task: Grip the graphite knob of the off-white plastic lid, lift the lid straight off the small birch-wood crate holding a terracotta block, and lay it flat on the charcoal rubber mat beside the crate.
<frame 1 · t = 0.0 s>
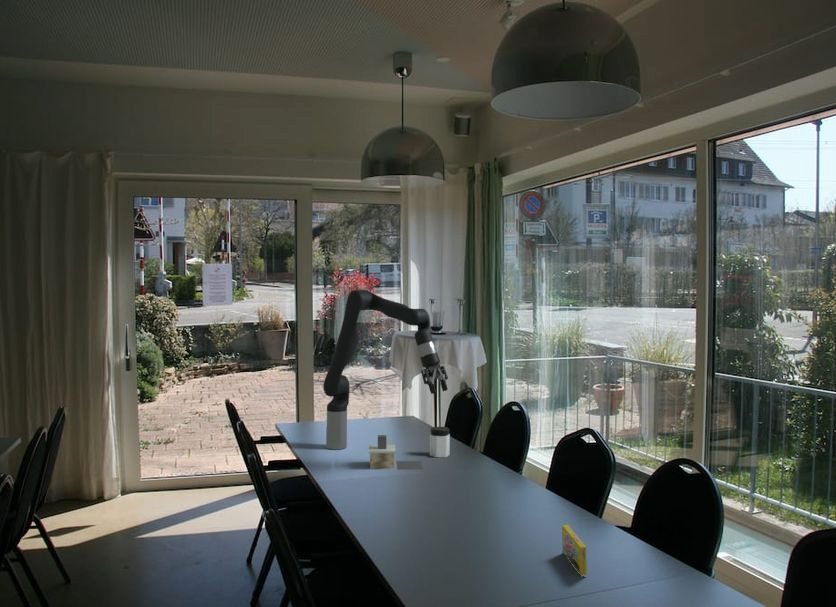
hand: (439, 392, 286), 31 cm above the table, tool tilted 20°, fingers open, 8 cm apart
jar: (439, 455, 308), on the table
lid: (381, 452, 287), point 6 cm above the table, touching crate
crate: (381, 466, 288), on the table
mat: (409, 466, 289), on the table
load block: (381, 465, 288), point 1 cm above the table, touching crate
candy box: (573, 565, 190), on the table
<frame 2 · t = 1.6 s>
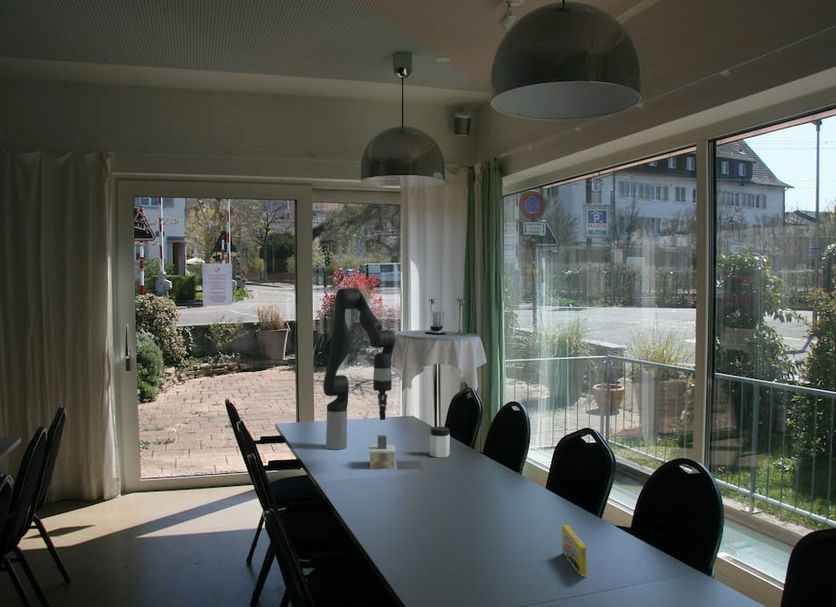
hand: (382, 417, 287), 20 cm above the table, tool pointing down, fingers open, 8 cm apart
nothing on the table moved.
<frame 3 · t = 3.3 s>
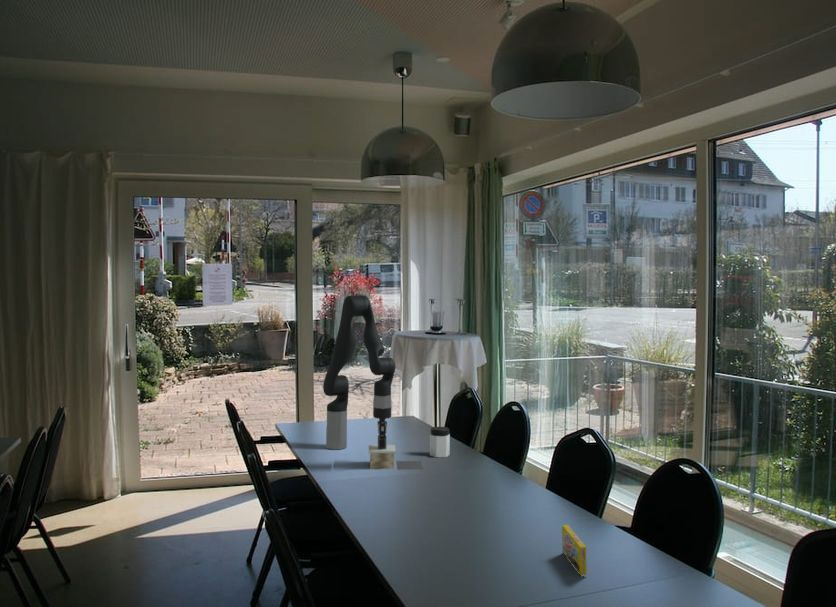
hand: (382, 447, 287), 8 cm above the table, tool pointing down, fingers closed on lid, 3 cm apart
lid: (381, 452, 287), point 6 cm above the table, touching crate, gripper
everything else where it was.
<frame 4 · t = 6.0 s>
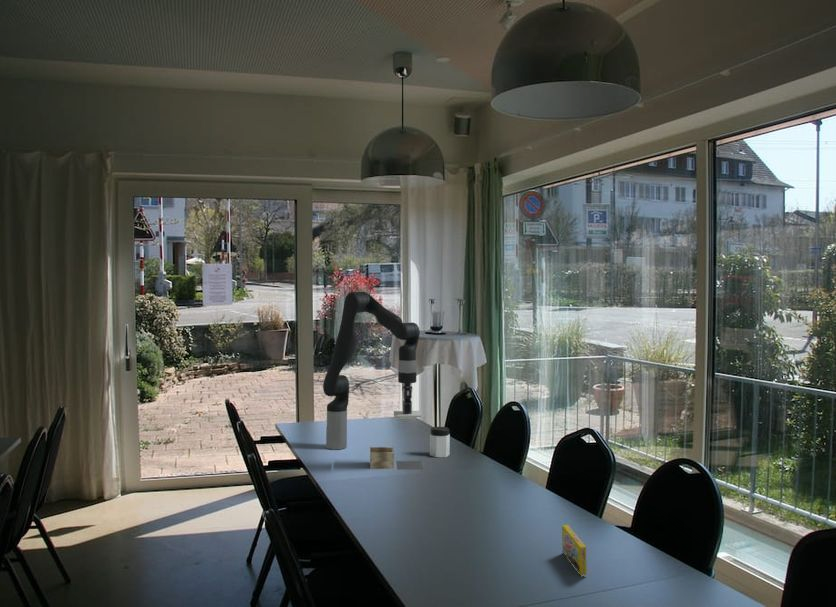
hand: (407, 412, 287), 23 cm above the table, tool pointing down, fingers closed on lid, 3 cm apart
lid: (407, 417, 287), point 21 cm above the table, touching gripper
everything else where it was.
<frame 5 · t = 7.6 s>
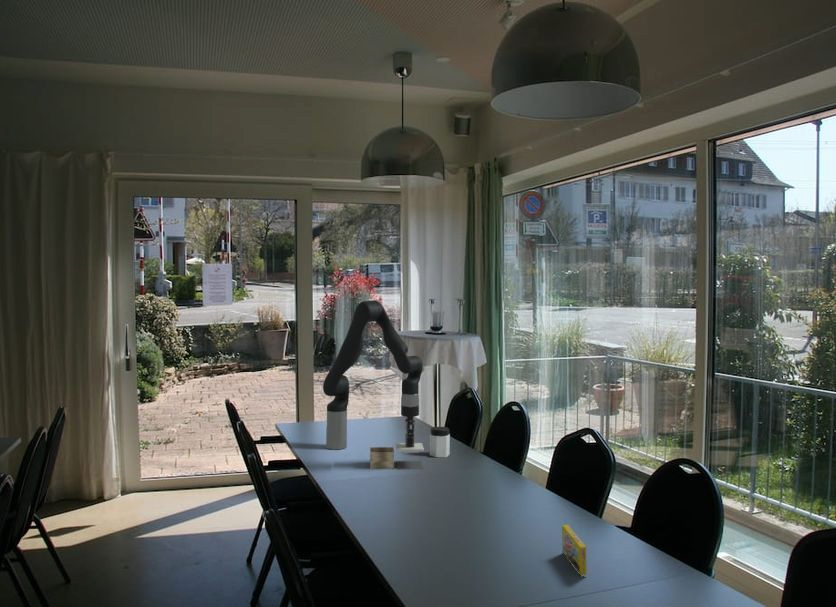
hand: (409, 445, 288), 9 cm above the table, tool pointing down, fingers closed on lid, 3 cm apart
lid: (409, 450, 288), point 7 cm above the table, touching gripper
everything else where it was.
when the fingers open (4 cm above the table, at t = 8.8 s): lid drops 2 cm, resting on mat.
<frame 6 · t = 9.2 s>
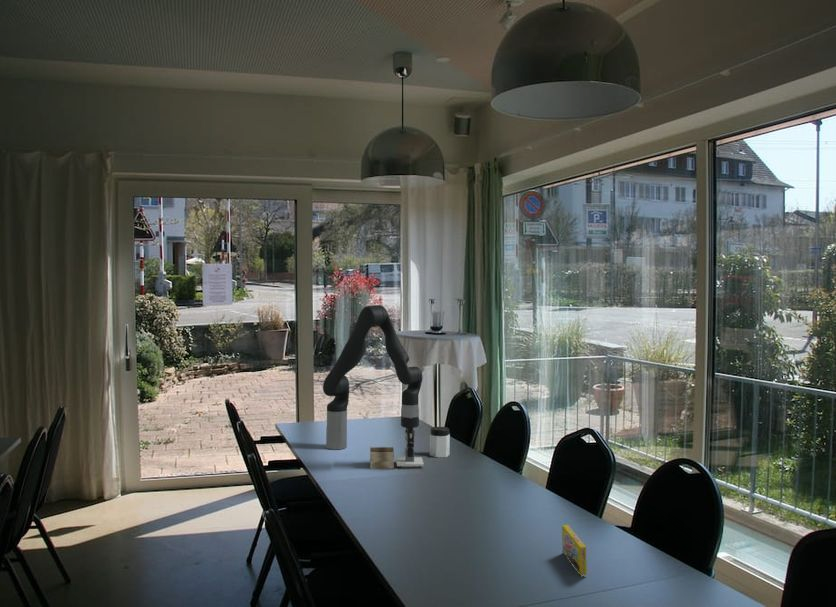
hand: (409, 454, 288), 5 cm above the table, tool pointing down, fingers open, 7 cm apart
lid: (409, 465, 289), point 1 cm above the table, touching mat
everything else where it was.
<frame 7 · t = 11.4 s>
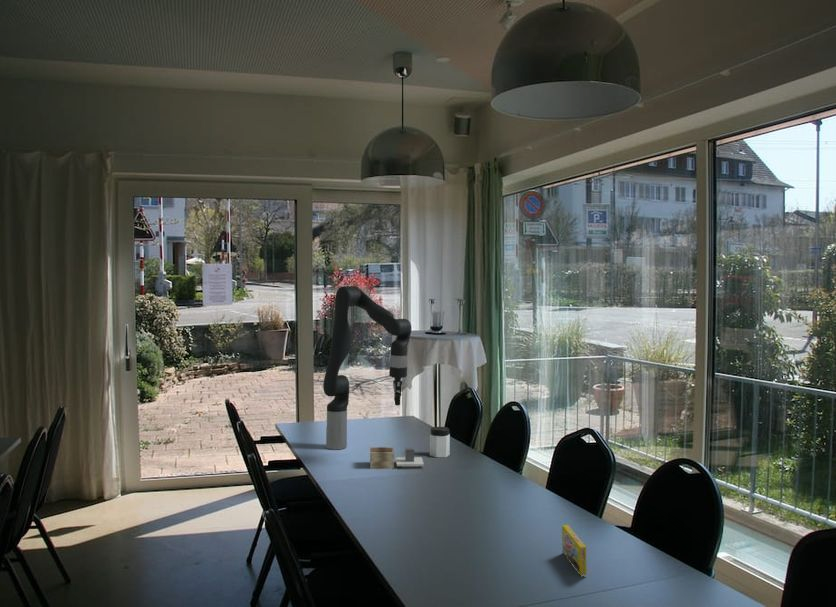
hand: (397, 403, 297), 25 cm above the table, tool pointing down, fingers open, 8 cm apart
nothing on the table moved.
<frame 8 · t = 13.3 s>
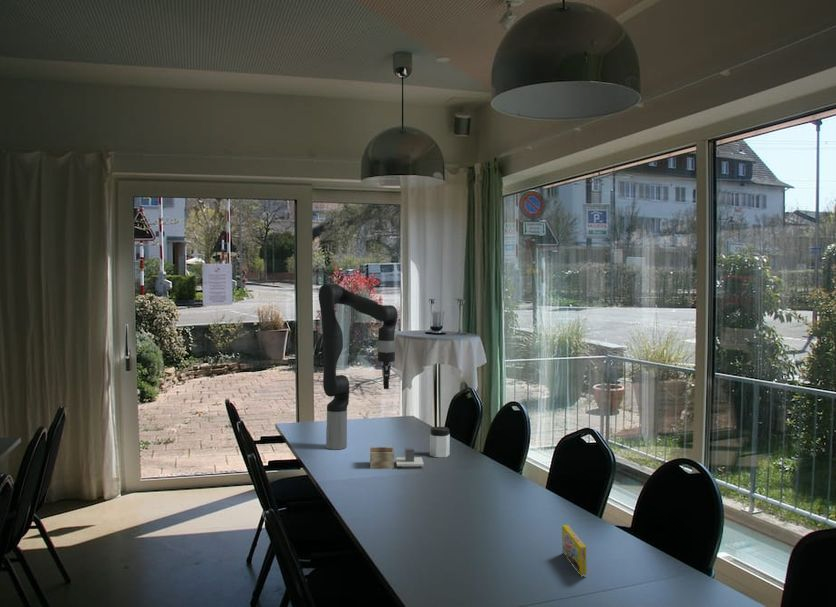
hand: (385, 387, 306), 30 cm above the table, tool pointing down, fingers open, 8 cm apart
nothing on the table moved.
at the end: lid 0.0 cm off-centre on the mat, point 0.6 cm above the mat's base; lid tilted 0°; the gripper is holding nothing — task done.
